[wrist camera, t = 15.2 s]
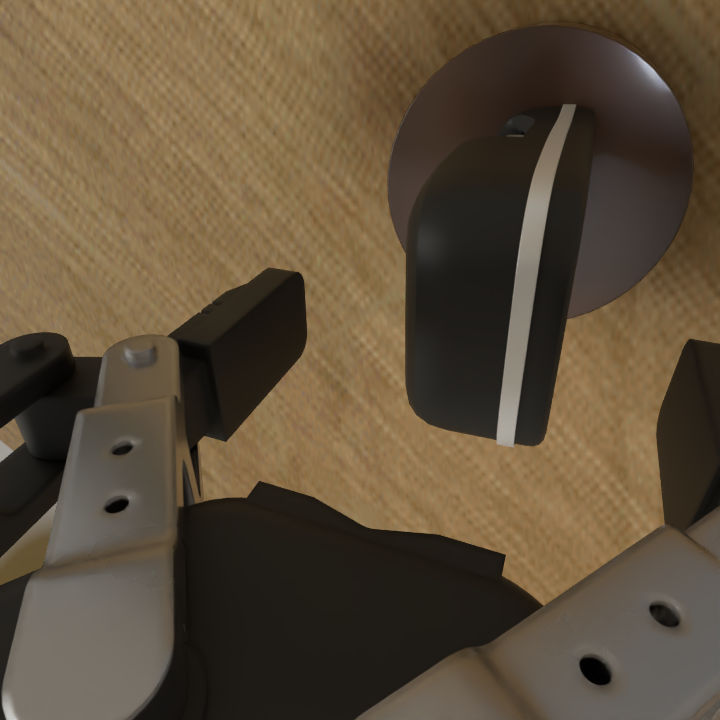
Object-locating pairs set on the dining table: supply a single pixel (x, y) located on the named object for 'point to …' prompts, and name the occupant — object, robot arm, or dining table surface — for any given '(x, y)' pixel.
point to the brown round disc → (610, 142)
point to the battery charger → (496, 275)
